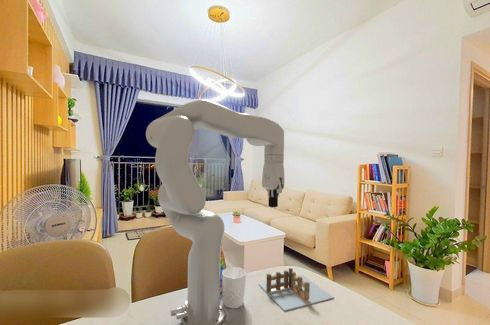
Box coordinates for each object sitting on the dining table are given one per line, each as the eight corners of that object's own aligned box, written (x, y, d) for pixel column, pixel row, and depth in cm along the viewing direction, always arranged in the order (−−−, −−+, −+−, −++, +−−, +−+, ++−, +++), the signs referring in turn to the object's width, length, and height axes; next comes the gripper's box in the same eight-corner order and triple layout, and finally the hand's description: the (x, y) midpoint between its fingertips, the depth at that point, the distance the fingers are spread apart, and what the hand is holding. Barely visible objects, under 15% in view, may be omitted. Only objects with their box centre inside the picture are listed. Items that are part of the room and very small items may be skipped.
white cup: (241, 294, 86) (242, 266, 86) (248, 307, 78) (248, 276, 78) (219, 297, 84) (220, 268, 84) (223, 311, 76) (224, 279, 76)
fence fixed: (268, 294, 87) (268, 274, 87) (266, 292, 88) (266, 272, 88) (293, 288, 91) (293, 269, 91) (290, 286, 92) (291, 267, 92)
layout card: (284, 311, 77) (284, 310, 77) (258, 284, 93) (258, 283, 93) (333, 298, 85) (333, 296, 85) (301, 275, 101) (301, 274, 101)
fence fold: (290, 286, 90) (291, 271, 90) (293, 286, 90) (293, 271, 90) (306, 300, 82) (306, 283, 81) (309, 299, 82) (309, 282, 82)
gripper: (256, 159, 101) (255, 204, 101) (275, 159, 87) (274, 211, 87) (272, 159, 104) (271, 203, 104) (293, 160, 90) (292, 209, 90)
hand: (273, 206), depth 96 cm, fingers closed
